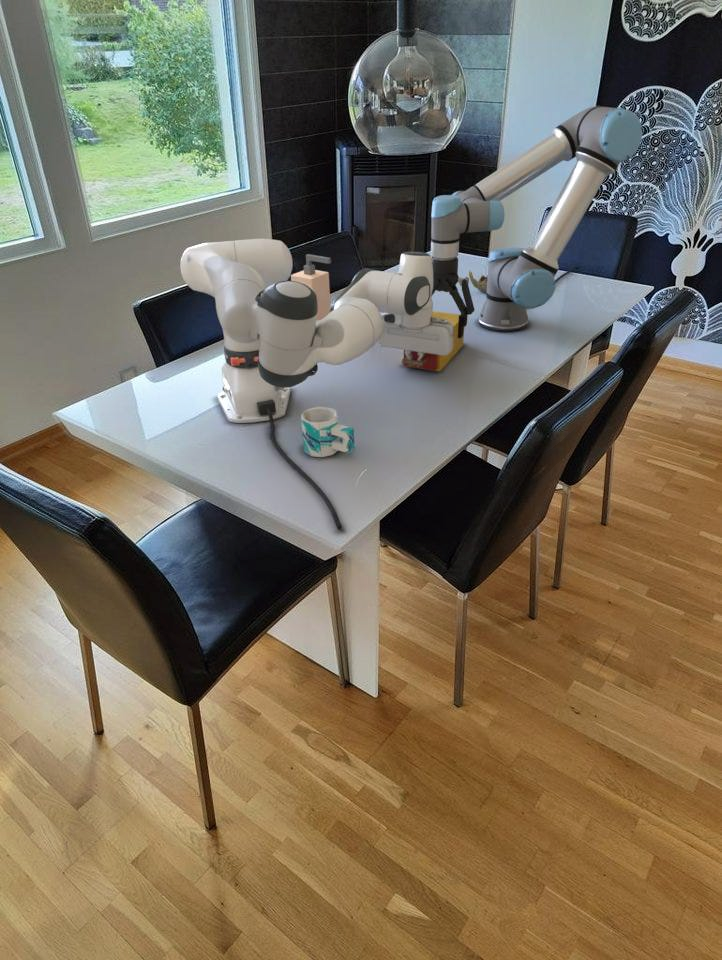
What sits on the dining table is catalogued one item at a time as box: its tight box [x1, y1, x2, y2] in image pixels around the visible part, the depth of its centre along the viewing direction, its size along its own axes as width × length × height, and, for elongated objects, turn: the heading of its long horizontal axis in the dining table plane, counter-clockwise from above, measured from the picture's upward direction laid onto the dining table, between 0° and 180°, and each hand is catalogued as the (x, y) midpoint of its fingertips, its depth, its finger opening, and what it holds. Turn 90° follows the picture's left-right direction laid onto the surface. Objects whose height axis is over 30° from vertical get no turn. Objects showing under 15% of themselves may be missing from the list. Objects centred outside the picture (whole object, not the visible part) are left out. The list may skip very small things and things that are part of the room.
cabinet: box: [406, 310, 465, 372], centre depth 191 cm, size 21×11×9 cm, turn 155°
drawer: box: [401, 350, 437, 371], centre depth 187 cm, size 25×9×7 cm, turn 155°
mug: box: [300, 406, 356, 458], centre depth 147 cm, size 8×12×8 cm
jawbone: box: [468, 270, 488, 293], centre depth 238 cm, size 9×15×10 cm
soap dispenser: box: [290, 253, 332, 321], centre depth 211 cm, size 13×9×22 cm
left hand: (414, 365), depth 180 cm, fingers closed
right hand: (442, 334), depth 195 cm, fingers closed on cabinet, 11 cm apart
